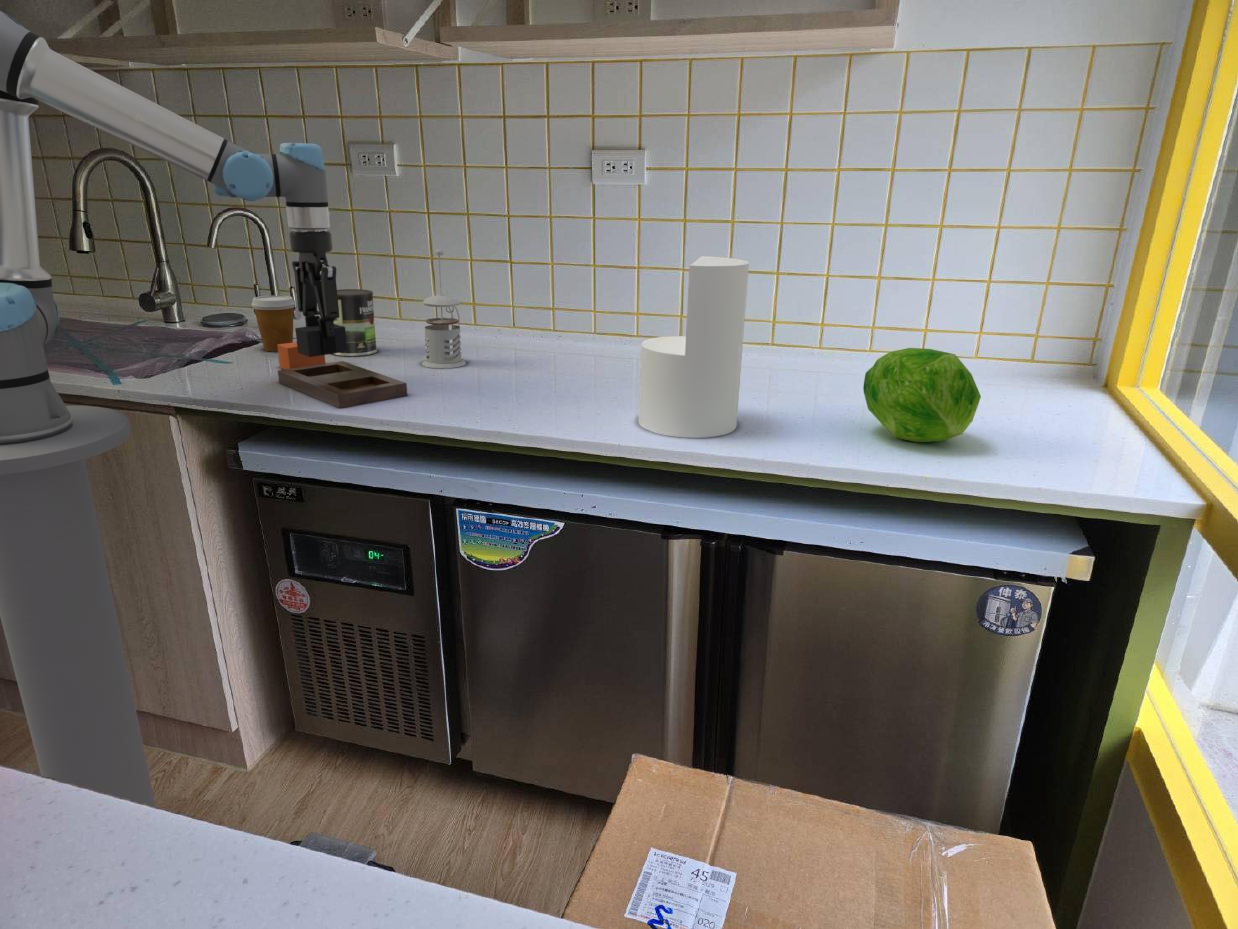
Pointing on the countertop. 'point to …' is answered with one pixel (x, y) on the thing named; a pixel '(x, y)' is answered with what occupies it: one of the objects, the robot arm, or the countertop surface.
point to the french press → (442, 333)
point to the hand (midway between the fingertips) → (322, 350)
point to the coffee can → (357, 321)
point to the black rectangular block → (318, 340)
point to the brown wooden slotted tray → (342, 384)
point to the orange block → (296, 357)
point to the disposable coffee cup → (274, 320)
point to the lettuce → (921, 394)
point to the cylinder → (698, 357)
